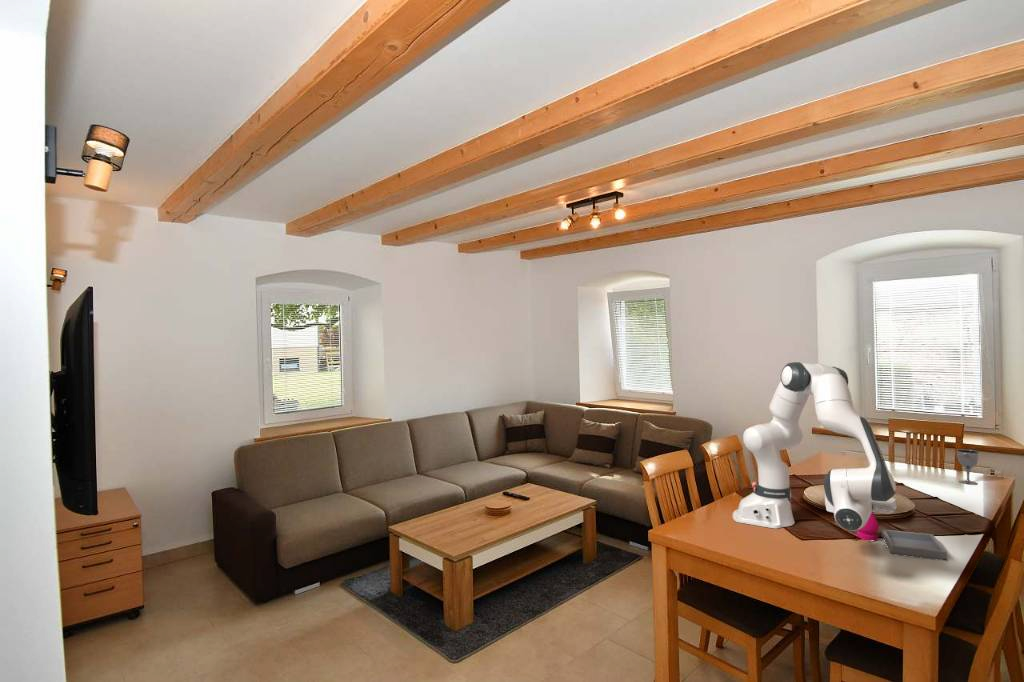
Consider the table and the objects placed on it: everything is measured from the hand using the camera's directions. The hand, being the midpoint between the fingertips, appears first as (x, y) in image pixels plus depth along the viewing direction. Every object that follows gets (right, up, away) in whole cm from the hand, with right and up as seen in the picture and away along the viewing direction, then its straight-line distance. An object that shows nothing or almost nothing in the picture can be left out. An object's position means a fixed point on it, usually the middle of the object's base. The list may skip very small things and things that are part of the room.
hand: (862, 495), depth 186 cm
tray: (+18, -18, 0) cm, 25 cm away
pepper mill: (+8, -19, +10) cm, 23 cm away
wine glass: (+95, -14, +70) cm, 119 cm away
